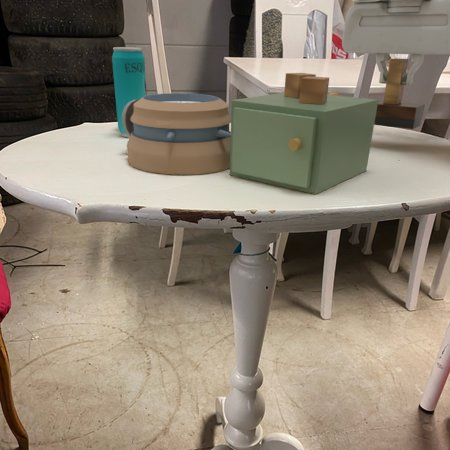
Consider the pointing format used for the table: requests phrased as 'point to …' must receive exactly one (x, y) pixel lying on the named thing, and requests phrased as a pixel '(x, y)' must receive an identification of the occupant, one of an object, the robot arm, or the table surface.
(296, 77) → the wooden toy block
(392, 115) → the brush
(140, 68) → the beverage can
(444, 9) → the robot arm
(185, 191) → the table surface
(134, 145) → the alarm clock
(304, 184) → the cabinet
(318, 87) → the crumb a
